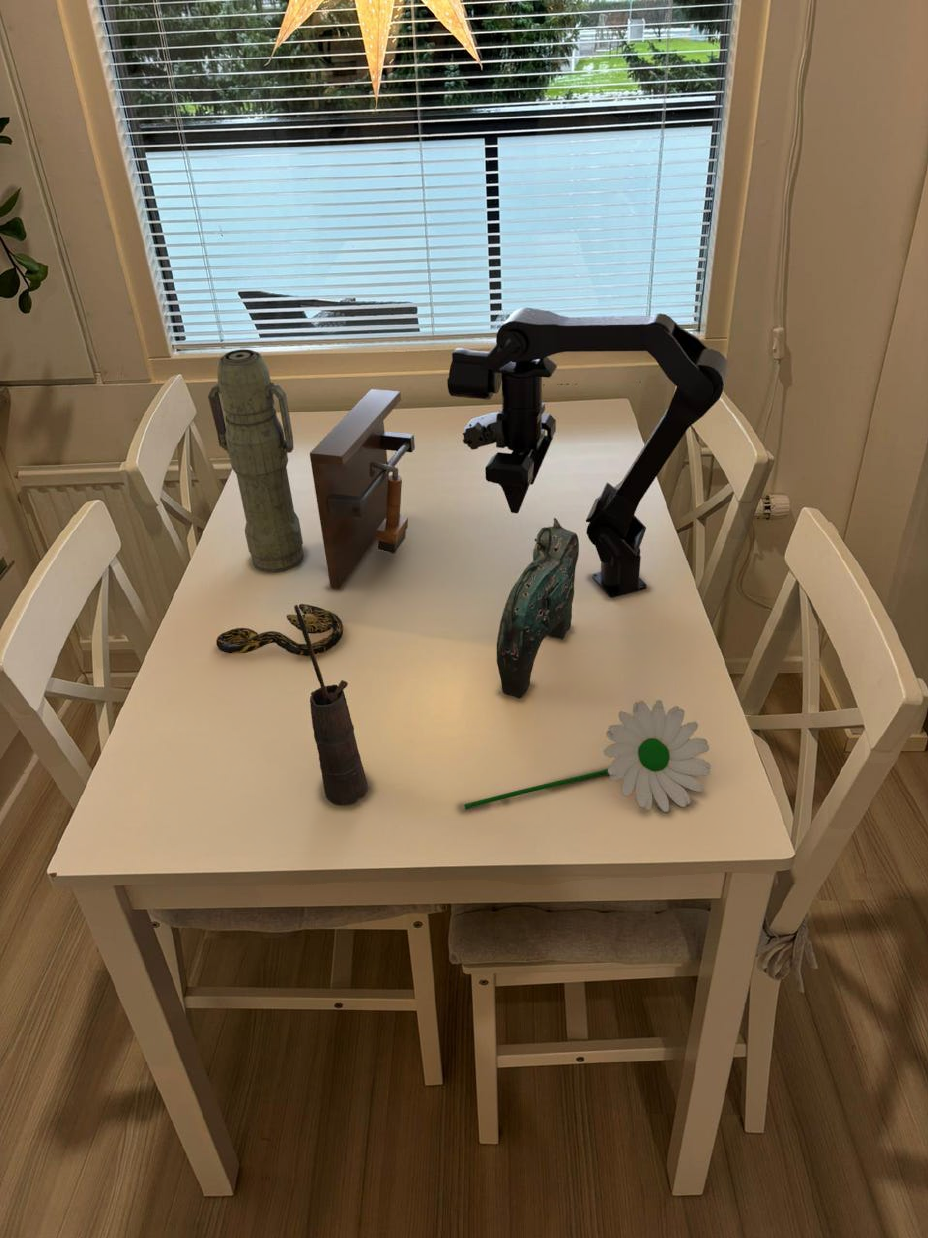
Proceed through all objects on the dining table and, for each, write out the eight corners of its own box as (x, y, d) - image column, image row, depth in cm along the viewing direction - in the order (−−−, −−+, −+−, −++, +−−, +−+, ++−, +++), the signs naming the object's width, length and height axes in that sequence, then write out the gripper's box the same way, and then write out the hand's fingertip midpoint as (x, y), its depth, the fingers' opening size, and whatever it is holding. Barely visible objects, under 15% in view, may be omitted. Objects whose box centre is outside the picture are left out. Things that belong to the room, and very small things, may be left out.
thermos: (250, 544, 159) (208, 344, 139) (317, 544, 158) (285, 343, 138) (236, 572, 152) (189, 367, 131) (306, 573, 151) (271, 365, 130)
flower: (450, 750, 108) (693, 684, 110) (451, 760, 113) (683, 697, 116) (480, 863, 104) (733, 792, 106) (480, 867, 109) (721, 799, 111)
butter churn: (370, 746, 118) (344, 561, 101) (403, 794, 111) (381, 603, 95) (302, 774, 115) (264, 587, 98) (332, 825, 108) (296, 633, 91)
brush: (406, 537, 156) (411, 461, 147) (395, 555, 151) (399, 478, 142) (373, 528, 157) (376, 453, 148) (361, 546, 152) (363, 469, 143)
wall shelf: (421, 518, 164) (410, 391, 150) (370, 594, 146) (353, 457, 132) (384, 514, 166) (371, 388, 152) (330, 588, 147) (309, 453, 133)
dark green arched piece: (547, 615, 139) (548, 497, 127) (587, 625, 137) (593, 506, 125) (488, 694, 125) (484, 570, 113) (532, 707, 123) (532, 582, 111)
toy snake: (206, 629, 131) (231, 594, 140) (210, 656, 134) (235, 620, 142) (329, 640, 129) (347, 604, 137) (331, 668, 131) (349, 630, 140)
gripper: (485, 373, 142) (488, 465, 151) (448, 423, 128) (453, 522, 137) (557, 378, 139) (555, 472, 148) (526, 431, 125) (527, 531, 134)
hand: (522, 497), depth 142 cm, fingers open, 9 cm apart
